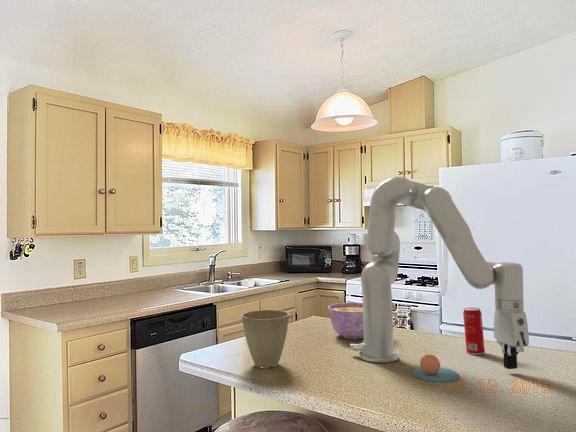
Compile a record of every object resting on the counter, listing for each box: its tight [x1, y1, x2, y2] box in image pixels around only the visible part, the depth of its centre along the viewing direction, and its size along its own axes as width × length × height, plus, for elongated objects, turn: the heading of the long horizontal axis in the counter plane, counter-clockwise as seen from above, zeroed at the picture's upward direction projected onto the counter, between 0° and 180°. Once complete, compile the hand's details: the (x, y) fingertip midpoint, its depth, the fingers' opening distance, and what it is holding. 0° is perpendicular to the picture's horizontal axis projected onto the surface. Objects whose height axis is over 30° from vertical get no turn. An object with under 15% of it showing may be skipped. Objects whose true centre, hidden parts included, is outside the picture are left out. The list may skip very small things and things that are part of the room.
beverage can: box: [462, 307, 486, 356], centre depth 153 cm, size 6×6×15 cm
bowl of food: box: [327, 302, 364, 340], centre depth 177 cm, size 20×20×12 cm
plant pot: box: [241, 309, 290, 369], centre depth 143 cm, size 15×15×16 cm
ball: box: [419, 354, 441, 375], centre depth 132 cm, size 6×6×6 cm
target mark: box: [411, 366, 460, 383], centre depth 132 cm, size 13×13×1 cm
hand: (510, 367), depth 132 cm, fingers closed
